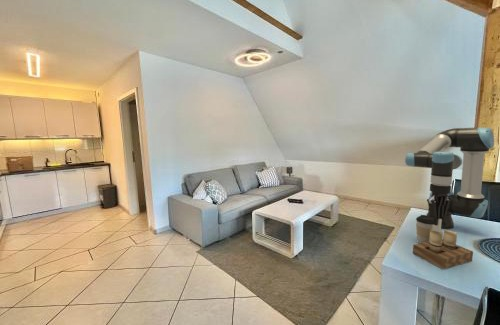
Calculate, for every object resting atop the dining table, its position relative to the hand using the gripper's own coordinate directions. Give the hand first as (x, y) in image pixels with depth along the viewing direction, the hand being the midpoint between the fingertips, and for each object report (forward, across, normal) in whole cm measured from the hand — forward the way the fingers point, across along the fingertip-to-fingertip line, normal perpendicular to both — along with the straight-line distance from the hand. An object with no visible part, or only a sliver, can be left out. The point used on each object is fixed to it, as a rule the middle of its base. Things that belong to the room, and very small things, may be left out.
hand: (436, 230), depth 104 cm
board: (+15, -5, 0) cm, 16 cm away
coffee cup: (+15, -13, -14) cm, 24 cm away
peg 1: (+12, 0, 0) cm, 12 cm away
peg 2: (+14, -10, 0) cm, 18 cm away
